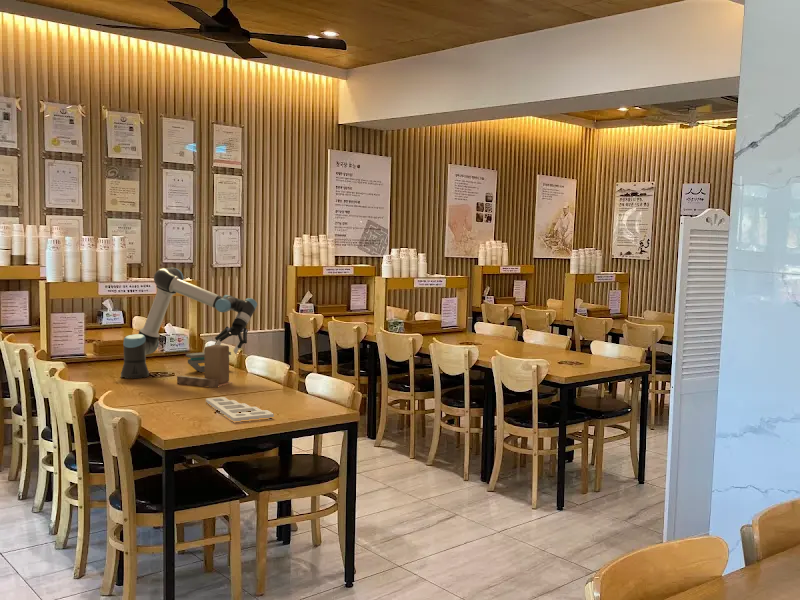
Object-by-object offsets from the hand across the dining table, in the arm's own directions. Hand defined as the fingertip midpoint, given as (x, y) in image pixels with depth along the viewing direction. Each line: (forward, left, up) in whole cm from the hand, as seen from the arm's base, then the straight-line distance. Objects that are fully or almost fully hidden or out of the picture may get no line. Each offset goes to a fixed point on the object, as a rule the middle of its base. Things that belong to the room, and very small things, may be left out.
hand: (224, 351), depth 406 cm
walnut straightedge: (-7, -15, -17) cm, 23 cm away
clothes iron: (-30, +24, -17) cm, 42 cm away
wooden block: (-1, -5, -17) cm, 18 cm away
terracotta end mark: (-1, -7, -17) cm, 18 cm away
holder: (+49, -55, -18) cm, 76 cm away
